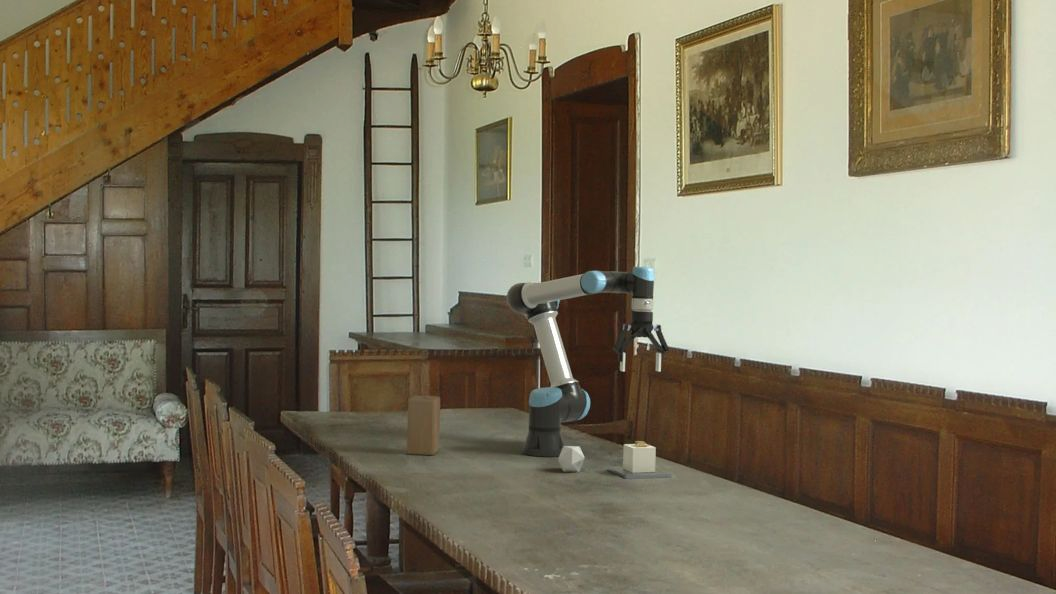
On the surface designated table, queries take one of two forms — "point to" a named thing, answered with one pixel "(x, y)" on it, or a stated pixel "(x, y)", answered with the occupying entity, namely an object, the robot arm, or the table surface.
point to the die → (571, 458)
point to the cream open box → (639, 458)
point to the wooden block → (423, 425)
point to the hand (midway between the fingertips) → (640, 371)
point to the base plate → (630, 475)
